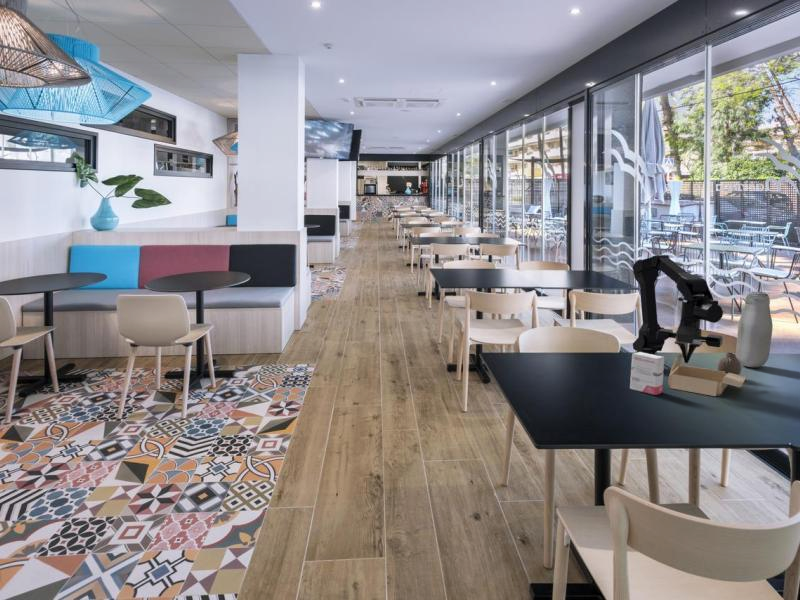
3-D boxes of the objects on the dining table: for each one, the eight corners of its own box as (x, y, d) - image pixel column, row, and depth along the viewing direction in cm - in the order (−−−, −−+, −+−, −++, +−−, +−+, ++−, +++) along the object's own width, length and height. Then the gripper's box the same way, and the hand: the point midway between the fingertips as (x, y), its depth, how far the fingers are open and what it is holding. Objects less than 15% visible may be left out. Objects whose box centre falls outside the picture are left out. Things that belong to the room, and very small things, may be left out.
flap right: (722, 381, 170) (740, 385, 167) (728, 372, 179) (746, 376, 176) (722, 382, 170) (740, 387, 167) (728, 373, 179) (745, 378, 176)
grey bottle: (748, 362, 208) (755, 289, 204) (773, 369, 199) (782, 293, 194) (728, 364, 205) (735, 290, 201) (753, 371, 196) (761, 294, 191)
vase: (743, 381, 184) (746, 356, 183) (721, 380, 186) (723, 355, 184) (735, 375, 191) (738, 351, 189) (713, 374, 192) (716, 350, 191)
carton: (666, 387, 178) (667, 374, 177) (678, 375, 191) (679, 363, 190) (719, 397, 168) (720, 383, 168) (728, 384, 182) (729, 371, 181)
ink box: (663, 392, 173) (666, 356, 171) (655, 395, 170) (658, 358, 168) (636, 385, 180) (639, 350, 178) (629, 388, 177) (631, 353, 175)
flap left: (679, 364, 188) (685, 351, 186) (671, 372, 178) (677, 358, 177) (678, 364, 188) (683, 351, 186) (669, 372, 179) (675, 358, 177)
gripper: (653, 316, 178) (650, 363, 180) (719, 324, 166) (714, 373, 169) (662, 311, 186) (658, 356, 189) (725, 318, 175) (720, 365, 178)
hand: (686, 362), depth 181 cm, fingers closed
